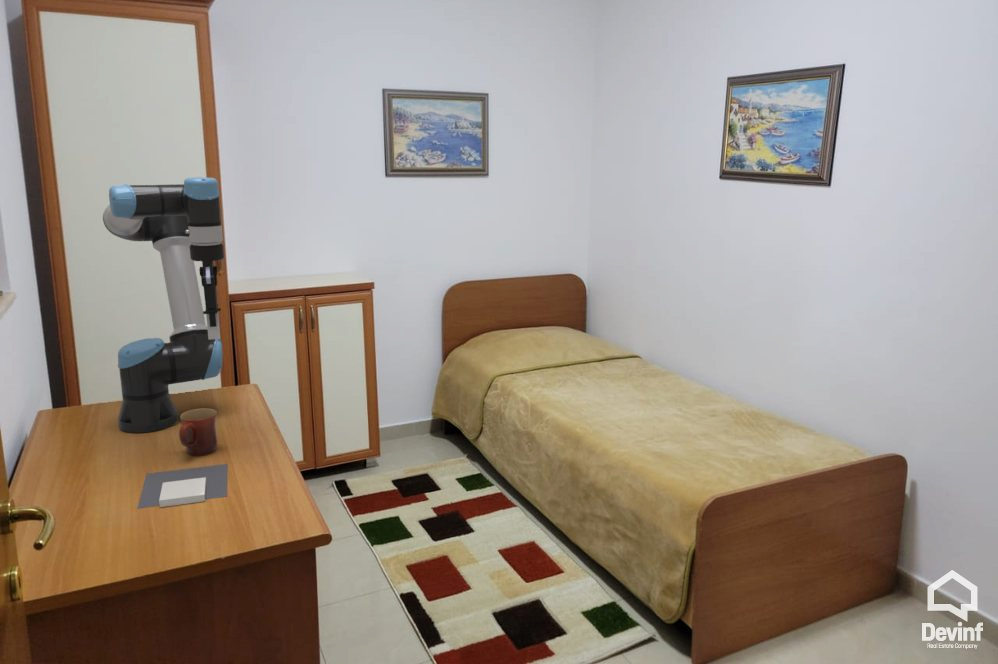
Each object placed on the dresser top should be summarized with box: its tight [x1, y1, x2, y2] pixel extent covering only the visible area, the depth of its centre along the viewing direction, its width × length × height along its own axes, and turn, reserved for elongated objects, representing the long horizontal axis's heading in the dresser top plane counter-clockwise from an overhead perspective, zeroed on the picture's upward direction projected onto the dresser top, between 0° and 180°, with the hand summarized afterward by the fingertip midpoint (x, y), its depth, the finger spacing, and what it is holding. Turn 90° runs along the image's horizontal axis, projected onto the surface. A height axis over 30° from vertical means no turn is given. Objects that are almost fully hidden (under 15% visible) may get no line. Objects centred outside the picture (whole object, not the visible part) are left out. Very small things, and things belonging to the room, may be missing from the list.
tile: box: [159, 477, 206, 508], centre depth 161 cm, size 2×9×9 cm
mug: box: [178, 407, 218, 457], centre depth 182 cm, size 12×9×10 cm
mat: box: [137, 463, 229, 509], centre depth 166 cm, size 18×18×1 cm
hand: (214, 338), depth 180 cm, fingers closed
